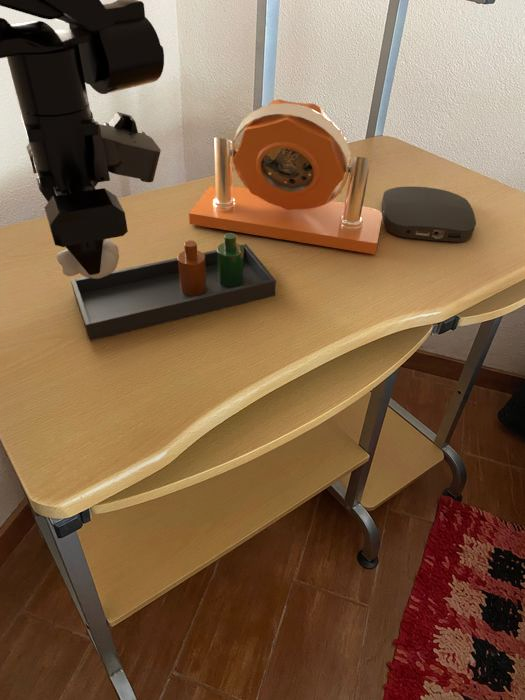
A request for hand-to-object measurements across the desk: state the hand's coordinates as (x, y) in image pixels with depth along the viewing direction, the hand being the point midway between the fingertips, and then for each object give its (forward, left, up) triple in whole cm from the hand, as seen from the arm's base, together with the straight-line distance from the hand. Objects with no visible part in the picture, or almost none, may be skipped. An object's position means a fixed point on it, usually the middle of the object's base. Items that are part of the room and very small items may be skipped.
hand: (89, 259), depth 56 cm
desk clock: (+34, +18, -12) cm, 40 cm away
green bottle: (+19, +6, -11) cm, 23 cm away
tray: (+11, +6, -12) cm, 17 cm away
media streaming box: (+57, +11, -12) cm, 59 cm away
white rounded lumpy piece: (0, 0, -2) cm, 2 cm away
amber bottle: (+13, +6, -11) cm, 18 cm away
